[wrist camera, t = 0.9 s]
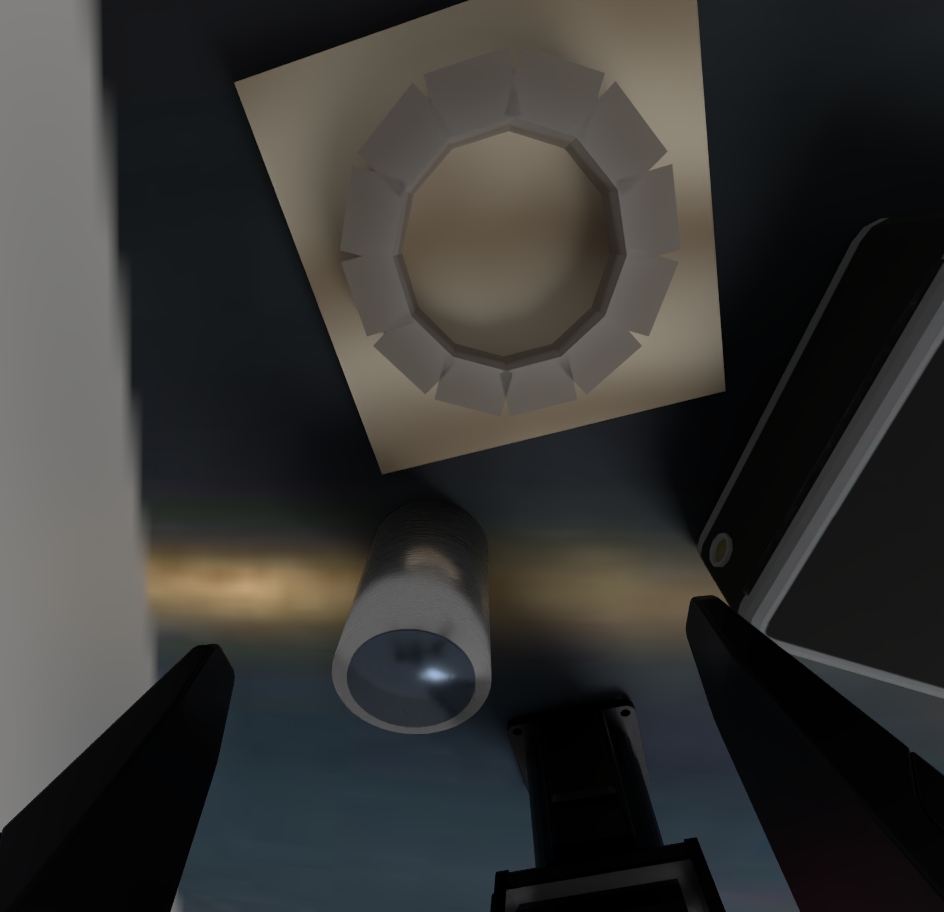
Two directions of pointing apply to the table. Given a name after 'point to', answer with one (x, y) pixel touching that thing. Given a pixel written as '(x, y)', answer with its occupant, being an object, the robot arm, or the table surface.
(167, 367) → the table surface
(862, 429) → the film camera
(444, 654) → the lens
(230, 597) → the table surface
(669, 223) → the mount
